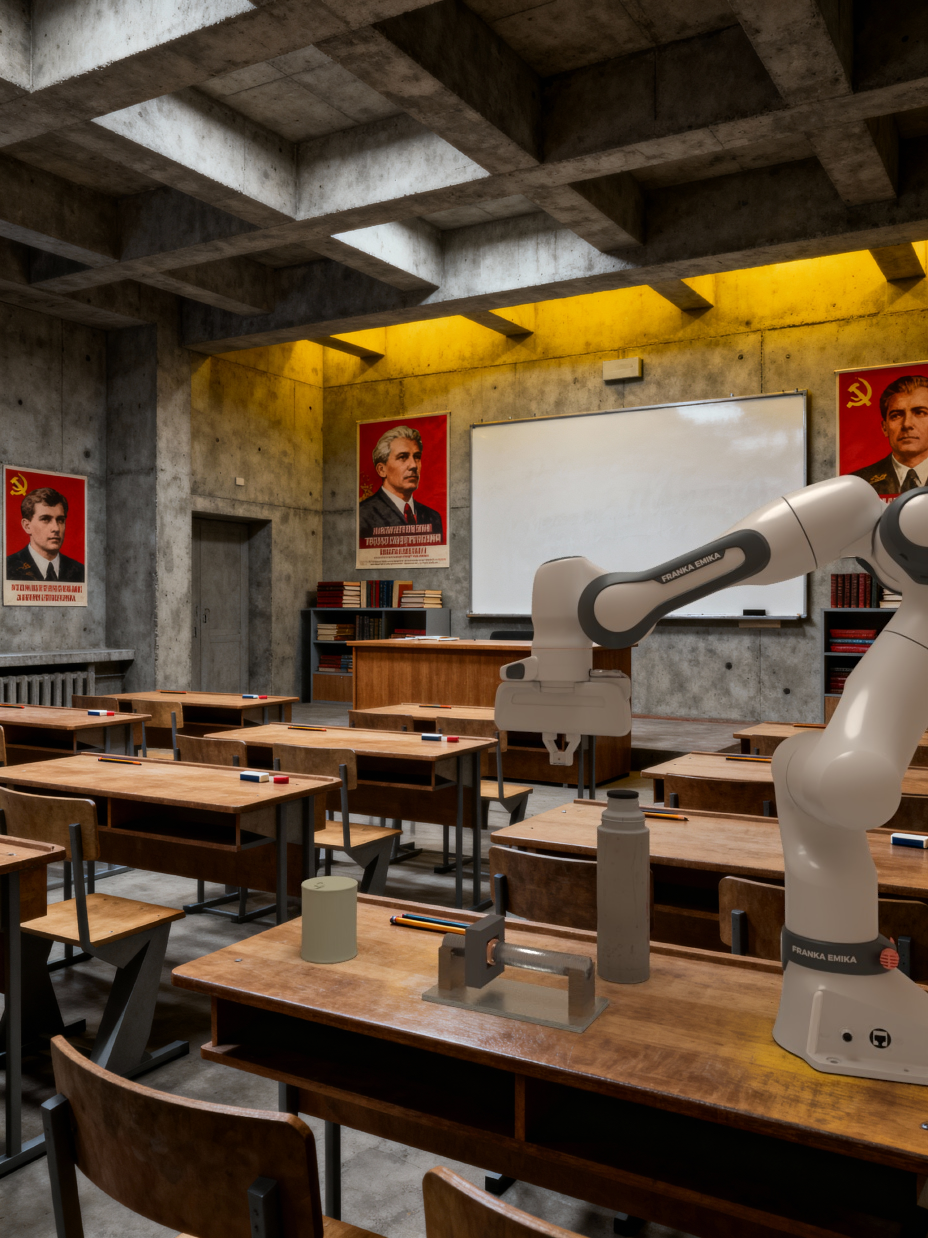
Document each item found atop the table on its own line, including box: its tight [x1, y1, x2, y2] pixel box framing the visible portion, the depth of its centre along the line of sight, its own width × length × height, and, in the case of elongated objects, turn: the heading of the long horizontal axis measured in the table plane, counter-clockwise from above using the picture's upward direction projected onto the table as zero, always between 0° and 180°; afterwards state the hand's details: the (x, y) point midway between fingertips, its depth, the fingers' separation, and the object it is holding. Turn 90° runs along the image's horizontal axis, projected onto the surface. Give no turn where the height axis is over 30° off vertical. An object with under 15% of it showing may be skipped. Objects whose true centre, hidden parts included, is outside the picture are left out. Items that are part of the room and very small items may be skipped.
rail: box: [421, 932, 610, 1034], centre depth 130 cm, size 24×11×8 cm, turn 62°
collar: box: [464, 913, 506, 989], centre depth 132 cm, size 2×8×8 cm, turn 152°
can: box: [299, 875, 359, 965], centre depth 150 cm, size 9×9×12 cm
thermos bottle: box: [596, 789, 651, 984], centre depth 142 cm, size 8×8×28 cm
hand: (561, 764), depth 133 cm, fingers closed
